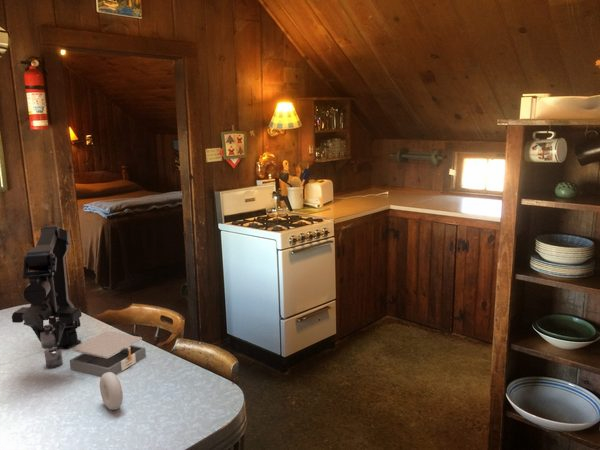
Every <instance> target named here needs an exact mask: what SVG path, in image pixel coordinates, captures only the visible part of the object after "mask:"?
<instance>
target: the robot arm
mask: <svg viewBox="0 0 600 450" xmlns="http://www.w3.org/2000/svg"><path fill="white" fill-rule="evenodd" d="M39 233H40V234H39V238H38V239H37V242H36V244H35V246H34V247H31V248H30V249H28V251H27V252H26V255H24V256H23V257H24V258H23V271H22V272H23V273H22V275H23V276H22V277H23V280H25V279H29V283H28V284H27V286H26V287H25V288H24V290H23V298H24V300H25V301H26V302H28V303H30V306H23V307H20V308H19V309H17V310H15V311H14V312H13V313H12V315H11V322H12V323H13V324H14V323H15V324H16V323H23V325H24V326H28V327H30V328H31V330H32V331H33V332H34V334H35V336H36V338H37V339H38V340H39V342H40V343H41V338H40V330H41V329H43V328H44V326H45V323H44V321H48V324H52V325H53V327H55V333H56V341H57V343H59V345H58V346H57V347H59V348H61V349H64V350H67V349H69V348H70V349H71V348H73V347H75V346H77V345H79V344H81V343H82V341H81V340H80V339H78V333H77V329H78V328H80V327H81V319H80V318H81V317H82V316H83V315H82V311H81V309H80V307H75V305H74V304H73V302H71V300H70V299H69V290H68V288H69V287H68V279H67V278H68V277H67V276H68V275H67V266H66V255H67V254H68V252H69V250H70V245H71V234H70V233H69V231H68V230H66V229H64V228H60V226H58V225H47V226H43V227H41V228H40V232H39Z"/></svg>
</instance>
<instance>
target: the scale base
mask: <svg viewBox="0 0 600 450" xmlns="http://www.w3.org/2000/svg"><path fill="white" fill-rule="evenodd" d="M129 347H131V349H130V350H131V357H132V359H131V360H128V356H126V357H124V358H123V359H121V360H119V361H117V362H116V363H114V364H112V365H111V366H109V367H107V366H103V365H99V364H95V363H90V361H91V360H92V359H95V358H96V357H97V356H93V355H89V354H84V353H79V355H77V356H75V357H72V358H70V359H69V365H70V368H69V369H70V370H73V371H76V372H80V373H85V374H90V375H93V376H97V377H100V378H101V377H102V375H103V374H104V373H107V372H112V373H114V374H115V375H116V376H117V375H118V374H119V373H121V372H123V371H124V370H126V369H127V368H130V367H131V366H132V365H135V364H136V363H138V362H139V361H141V360H143V359H144V358H146V357H147V354H146V351H147V350H146V347H143V346H138V345H134V344H133V345H131V346H129ZM119 353H122V354H127V355H128V350H126V349H124V350H122V351H120V352H119ZM145 356H146V357H145Z"/></svg>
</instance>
